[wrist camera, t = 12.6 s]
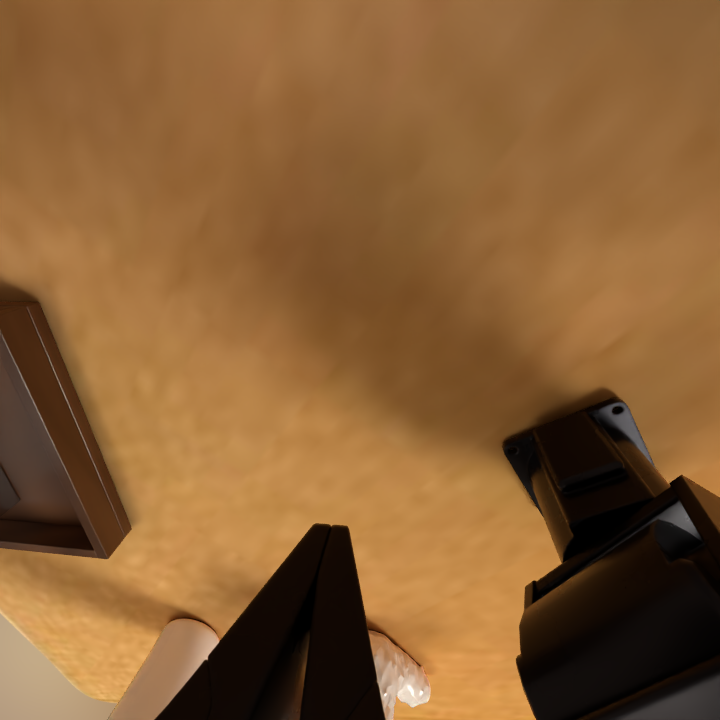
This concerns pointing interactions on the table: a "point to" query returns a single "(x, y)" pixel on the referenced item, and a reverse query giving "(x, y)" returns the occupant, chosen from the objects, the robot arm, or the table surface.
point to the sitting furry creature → (397, 675)
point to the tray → (49, 450)
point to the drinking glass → (166, 669)
